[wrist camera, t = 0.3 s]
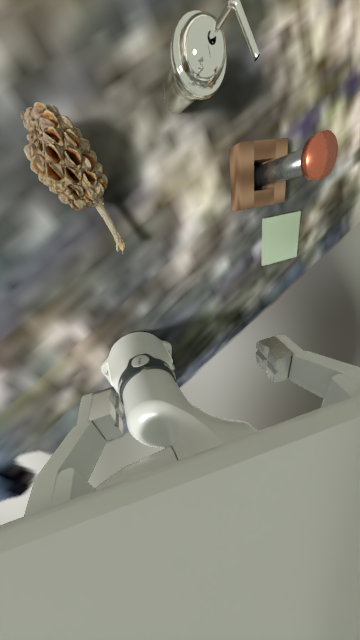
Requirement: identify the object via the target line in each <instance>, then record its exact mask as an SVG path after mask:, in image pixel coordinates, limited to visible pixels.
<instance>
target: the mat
mask: <svg viewBox="0 0 360 640" xmlns="http://www.w3.org/2000/svg"><path fill="white" fill-rule="evenodd" d="M300 215H301V211H297V212H293V213H288V214H283V215H278V216H273V217H268V218H264V219H262V265H263V266H264V265H268V264H271V263H275V262H279V261H282V260H286V259H289V258H293V257H297V248H298V237H299V226H300Z"/></svg>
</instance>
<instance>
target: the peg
mask: <svg viewBox="0 0 360 640" xmlns="http://www.w3.org/2000/svg"><path fill="white" fill-rule="evenodd" d="M337 152H338V144H337V139H336V137H335V135H334V134H333V133H332V132H331V131H329V130H325V131H322V132H320V133H317V134H315V135H313V136H312V137H310V138H309V139H308V141H307V142H306V144H305V146H304V148H303V149H300V150H298V151H295V152H293V153H290V154H288V155H285V156H282V157H280V158H277V159H275V160H272V161H270V162H267V163H265V164H262V165H260V166H257V167H255V168H254V188H257V187H261V186H265V185H268V184H272V183H276V182H280V181H283V180H287V179H291V178H295V177H298V176H302V175H303V176H304V177H305V178H306V179H307V180H310V181H313V180H317V179H322V178H324V177H326V176H327V175H328V174H329V173H330V171H331V170H332V168H333V166H334V164H335V161H336V158H337Z"/></svg>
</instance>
